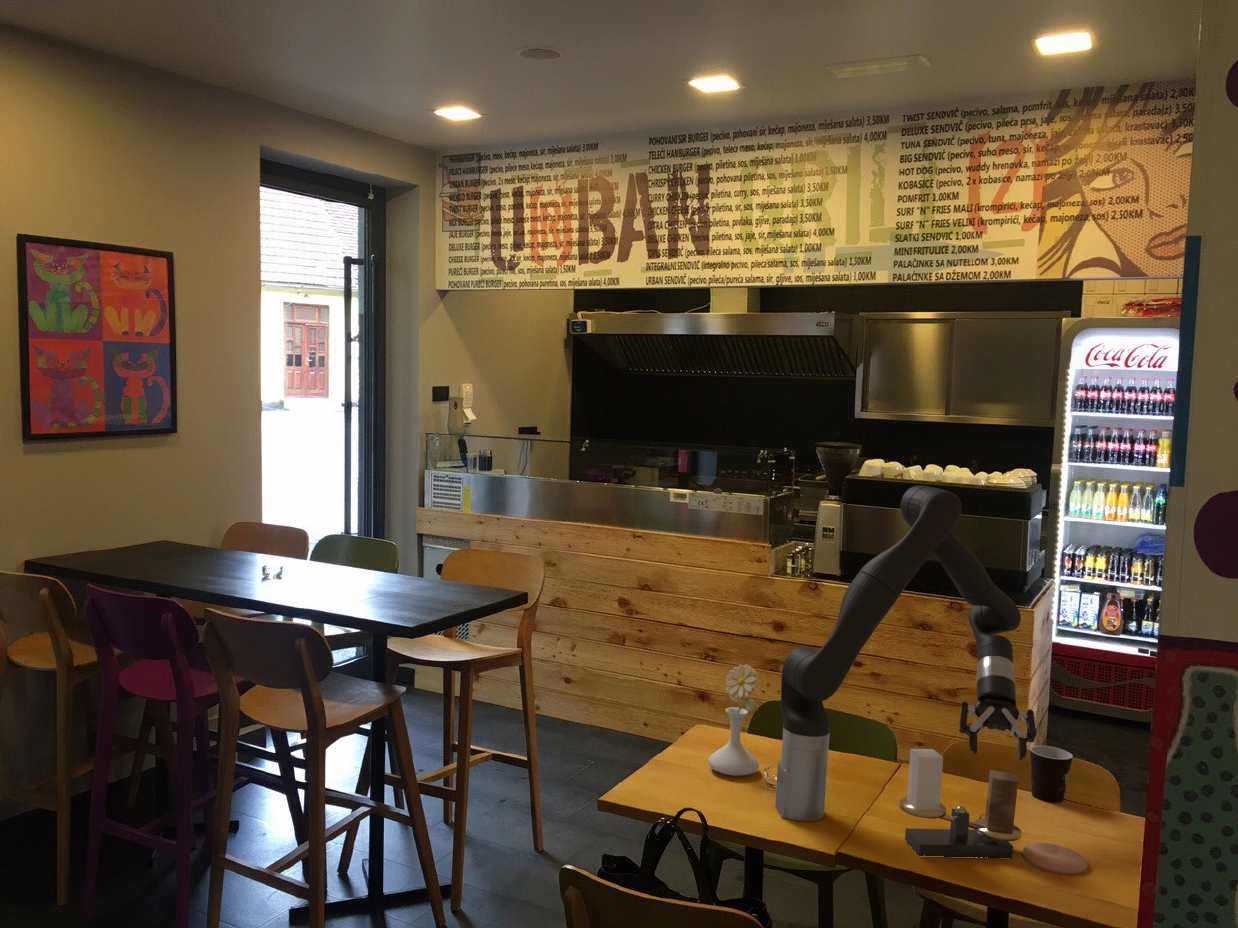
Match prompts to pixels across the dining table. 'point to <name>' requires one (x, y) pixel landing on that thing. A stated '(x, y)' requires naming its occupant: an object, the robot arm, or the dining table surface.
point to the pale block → (924, 779)
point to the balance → (957, 835)
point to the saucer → (1055, 858)
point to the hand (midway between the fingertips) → (997, 755)
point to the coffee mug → (1049, 772)
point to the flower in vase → (737, 725)
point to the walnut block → (1001, 801)
